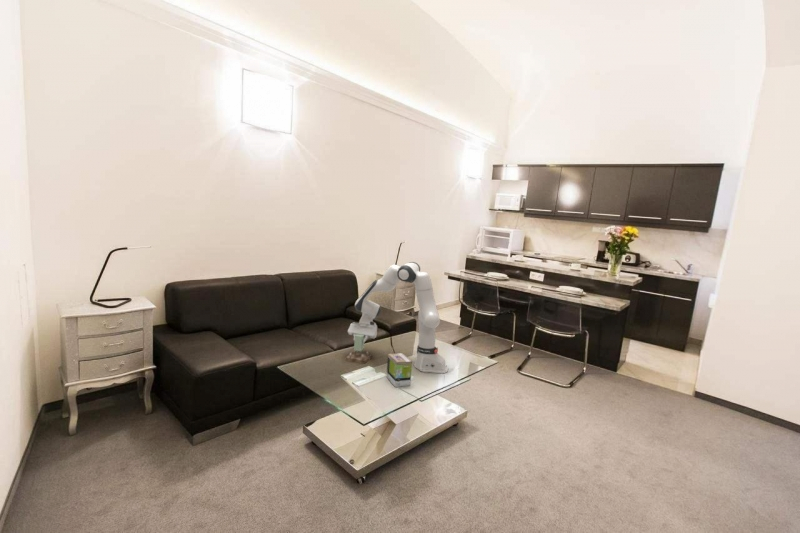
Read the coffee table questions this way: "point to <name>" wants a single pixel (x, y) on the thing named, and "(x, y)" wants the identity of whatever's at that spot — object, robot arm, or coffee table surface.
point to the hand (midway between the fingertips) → (359, 341)
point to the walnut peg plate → (358, 357)
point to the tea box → (399, 369)
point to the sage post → (359, 342)
